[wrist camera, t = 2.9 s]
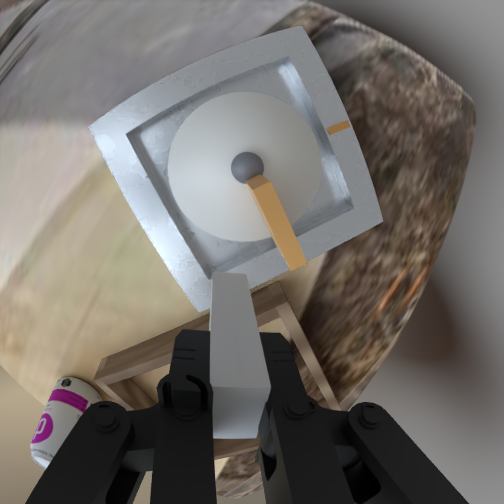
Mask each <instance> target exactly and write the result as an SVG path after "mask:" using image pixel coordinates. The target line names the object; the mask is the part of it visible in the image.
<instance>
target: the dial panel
mask: <svg viewBox="0 0 504 504" xmlns="http://www.w3.org/2000/svg"><path fill="white" fill-rule="evenodd" d="M235 92H256V93H262V94H266V95H269V96H272V97H275V98H277V99H279V100H281V101H283V102H285V103H286V104H288V105H290V106H291V107H292V108H293V109H295V110H296V111H297V112H298V113H299V114H300V115H301V116H302V117H303V118H304V119H305V121H306V122H307V123H308V125H309V126H310V128H311V130H312V131H313V133H314V135H315V137H316V140H317V143H318V146H319V150H320V155H321V176H320V182H319V186H318V189H317V192H316V194H315V197H314V199H313V201H312V203H311V204H310V206H309V207H308V209H307V210H306V211H305V213H304V214H303V215H302V216H301V217H300V218H299V219H298V220H297V221H296V222H295V223H294V224H293V225H291V227H292V229H293V231H294V234H295V236H296V238H297V241H298V243H299V245H300V247H301V250H302V252H303V255H304V257H305V259H306V261H308V260H310V259H312V258H314V257H316V256H318V255H320V254H322V253H324V252H326V251H328V250H330V249H332V248H334V247H336V246H338V245H340V244H342V243H344V242H345V241H347V240H349V239H351V238H353V237H355V236H357V235H359V234H361V233H363V232H364V231H366V230H368V229H370V228H372V227H374V226H376V225H378V224H379V223H381V222H383V218H382V214H381V211H380V207H379V203H378V200H377V197H376V193H375V190H374V187H373V183H372V180H371V177H370V174H369V171H368V168H367V165H366V162H365V159H364V156H363V154H362V151H361V148H360V145H359V143H358V140H357V137H356V135H355V132H354V130H353V127H352V125H351V122H350V120H349V117H348V115H347V113H346V110H345V108H344V106H343V103H342V101H341V99H340V97H339V95H338V92H337V90H336V88H335V86H334V84H333V82H332V80H331V78H330V76H329V74H328V72H327V70H326V68H325V66H324V64H323V62H322V60H321V58H320V56H319V55H318V53H317V51H316V49H315V47H314V46H313V44H312V42H311V40H310V39H309V37H308V35H307V33H306V32H305V30H304V28H303V27H302V25H301V26H296V27H292V28H288V29H284V30H281V31H277V32H274V33H270V34H267V35H264V36H260V37H257V38H254V39H251V40H248V41H245V42H243V43H240V44H237V45H234V46H232V47H229V48H227V49H224V50H221V51H219V52H217V53H214V54H212V55H209V56H207V57H205V58H203V59H200V60H198V61H196V62H194V63H192V64H190V65H188V66H185V67H183V68H181V69H179V70H177V71H175V72H173V73H172V74H170V75H168V76H166V77H164V78H162V79H160V80H159V81H157V82H155V83H153V84H151V85H150V86H148V87H146V88H145V89H143V90H141V91H140V92H138V93H136V94H135V95H133V96H132V97H130V98H128V99H127V100H125V101H124V102H122V103H121V104H119V105H118V106H116V107H115V108H113V109H112V110H110V111H109V112H108V113H106V114H105V115H103V116H102V117H101V118H99V119H98V120H96V121H95V122H94V123H92V124H91V125H90V126H89V129H90V131H91V133H92V135H93V137H94V139H95V141H96V143H97V145H98V147H99V149H100V151H101V153H102V155H103V157H104V159H105V161H106V163H107V165H108V167H109V169H110V171H111V172H112V174H113V176H114V178H115V180H116V182H117V184H118V185H119V187H120V189H121V191H122V193H123V194H124V196H125V198H126V200H127V201H128V203H129V205H130V207H131V208H132V210H133V212H134V214H135V215H136V217H137V219H138V220H139V222H140V224H141V225H142V227H143V229H144V230H145V232H146V234H147V235H148V237H149V239H150V240H151V242H152V243H153V245H154V247H155V248H156V250H157V251H158V253H159V255H160V256H161V258H162V259H163V261H164V262H165V264H166V265H167V267H168V269H169V270H170V272H171V273H172V275H173V276H174V278H175V279H176V281H177V282H178V284H179V285H180V287H181V288H182V289H183V291H184V292H185V294H186V295H187V297H188V298H189V300H190V301H191V302H192V304H193V305H194V307H195V308H196V310H197V311H198V312H199V313H200V312H202V311H205V310H207V309H209V308H210V306H211V291H212V277H213V272H226V273H240V274H247V279H248V284H249V288H250V289H251V288H254V287H256V286H258V285H260V284H262V283H264V282H266V281H268V280H270V279H272V278H274V277H276V276H278V275H280V274H282V273H284V272H286V271H288V270H290V269H289V267H288V265H287V263H286V262H285V260H284V258H283V256H282V255H281V253H280V251H279V250H278V248H277V246H276V244H275V242H274V240H273V238H272V237H269V238H266V239H262V240H257V241H249V242H239V241H230V240H226V239H221V238H219V237H216V236H213V235H211V234H209V233H207V232H205V231H204V230H202V229H201V228H199V227H198V226H196V225H195V224H194V223H193V222H192V221H191V220H189V219H188V217H187V216H186V215H185V214H184V213H183V212H182V210H181V208H180V207H179V205H178V204H177V202H176V200H175V198H174V196H173V193H172V190H171V187H170V183H169V177H168V159H169V152H170V148H171V145H172V142H173V140H174V137H175V135H176V133H177V131H178V129H179V128H180V126H181V125H182V123H183V122H184V121H185V120H186V118H187V117H188V116H189V115H190V114H191V113H192V112H193V111H194V110H196V109H197V108H198V107H200V106H201V105H202V104H204V103H206V102H208V101H209V100H211V99H213V98H216V97H219V96H221V95H225V94H229V93H235Z"/></svg>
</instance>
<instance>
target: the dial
mask: <svg viewBox="0 0 504 504" xmlns="http://www.w3.org/2000/svg"><path fill="white" fill-rule="evenodd" d="M320 176H321V155H320V150H319V146H318V143H317V140H316V137H315V135H314V133H313V131H312V130H311V128H310V126H309V125H308V123H307V122H306V121H305V119H304V118H303V117H302V116H301V115H300V114H299V113H298V112H297V111H296V110H295V109H293V108H292V107H291V106H290V105H288V104H286V103H285V102H283V101H281V100H279V99H277V98H275V97H272V96H269V95H266V94H262V93H256V92H235V93H229V94H225V95H221V96H219V97H216V98H213V99H211V100H209V101H208V102H206V103H204V104H202V105H201V106H200V107H198V108H197V109H196V110H194V111H193V112H192V113H191V114H190V115H189V116H188V117H187V118H186V120H185V121H184V122H183V123H182V125H181V126H180V128H179V129H178V131H177V133H176V135H175V137H174V140H173V142H172V145H171V148H170V152H169V159H168V177H169V183H170V187H171V190H172V193H173V196H174V198H175V200H176V202H177V204H178V205H179V207H180V208H181V210H182V212H183V213H184V214H185V215H186V216H187V217H188V219H189V220H191V221H192V222H193V223H194V224H195V225H196V226H198V227H199V228H201V229H202V230H204V231H205V232H207V233H209V234H211V235H213V236H216V237H219V238H221V239H226V240H230V241H239V242H249V241H257V240H262V239H266V238H269V237H272V238H273V240H274V242H275V244H276V246H277V248H278V250H279V251H280V253H281V255H282V256H283V258H284V260H285V262H286V263H287V265H288V267H289V269H290V270H291V272H292V271H294V270H296V269H298V268H300V267H302V266H304V265H306V264H307V262H306V259H305V257H304V255H303V252H302V250H301V247H300V245H299V243H298V241H297V238H296V236H295V234H294V231H293V229H292V227H291V225H293V224H294V223H295V222H296V221H297V220H298V219H299V218H300V217H301V216H302V215H303V214H304V213H305V211H306V210H307V209H308V207H309V206H310V204H311V203H312V201H313V199H314V197H315V194H316V192H317V189H318V186H319V182H320Z"/></svg>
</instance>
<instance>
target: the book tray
mask: <svg viewBox="0 0 504 504" xmlns="http://www.w3.org/2000/svg"><path fill="white" fill-rule="evenodd" d="M251 298H252V302H253V307H254V312H255V316H256V321H257V326H258V327H259V326H262V325H264V324H266V323H268V322H270V321H272V320H275V319H277V318H279V317H281V318H282V320H283V322H284V324H285V326H286V328H287V330H288V331H289V333H290V335H291V337H292V339H293V341H294V342H295V344H296V346H297V348H298V350H299V352H300V353H301V355H302V357H303V359H304V361H305V363H306V365H307V366H308V368H309V370H310V372H311V374H312V376H313V377H314V379H315V381H316V383H317V385H318V386H319V388H320V390H321V392H322V394H323V396H324V397H325V399H323V400H321V401H319V402H317V403H318V405H319V406H321V407H323V408H327V409H332V410H340V411H342V410H341V408H340V406H339V404H338V401H337V399H336V397H335V395H334V393H333V391H332V389H331V387H330V385H329V383H328V380H327V378H326V376H325V374H324V372H323V370H322V368H321V366H320V364H319V362H318V360H317V358H316V356H315V354H314V352H313V350H312V348H311V346H310V343H309V341H308V339H307V337H306V335H305V333H304V331H303V329H302V327H301V325H300V323H299V321H298V319H297V317H296V315H295V313H294V311H293V309H292V307H291V305H290V303H289V301H288V299H287V297H286V295H285V293H284V291H283V289H282V287H281V285H280V283H279V281H277V282H275V283H273V284H271V285H269V286H267V287H264V288H262V289H260V290H258V291H256V292H254V293H252V294H251ZM209 323H210V313H209V314H207V315H205V316H202V317H200V318H198V319H196V320H193V321H191V322H189V323H187V324H184V325H182V326H180V327H178V328H175V329H173V330H171V331H168V332H166V333H164V334H162V335H159V336H157V337H154V338H152V339H150V340H147V341H145V342H143V343H140V344H138V345H135V346H133V347H131V348H128V349H126V350H123V351H121V352H118V353H116V354H114V355H111V356H109V357H106V358H104V359H102V360H101V363H100V365H99V368H98V370H97V373H96V375H95V378H94V380H93V381H94V382H95V383H96V384H97V385H98V386H99V387H100V388H101V389H103V390H104V391H105V392H106V393H107V394H108V395H109V396H110V397H112V398H113V399H114V400H115V401H116V402H117V403H119V404H120V405H121V406H122V407H124V408H125V409H126V410H127V411H130V410H139V409H145V408H150V407H152V406H154V405H156V404H157V403H156V402H155V401H153V400H152V399H151V398H150V397H149V396H148V395H147V394H146V393H144V392H143V391H142V390H141V389H140V388H139V387H138V386H137V385H136V384H135V383H134V382H133V381H132V380H130V379H129V378H130V377H133V376H136V375H139V374H142V373H145V372H148V371H151V370H153V369H156V368H159V367H162V366H164V365H167V364H170V363H171V359H172V353H173V348H174V342H175V337H176V336H177V335H178V334H179V333H180V332H181V330H182V329H190V330H203V331H209ZM213 444H214V460H217V459H221V458H226V457H230V456H234V455H238V454H242V453H246V452H250V451H253V450H257V449H258V448H259V445H260V439H259V433H258V434H257V437H256V438H246V439H222V438H213Z"/></svg>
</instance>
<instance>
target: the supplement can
mask: <svg viewBox="0 0 504 504" xmlns="http://www.w3.org/2000/svg"><path fill="white" fill-rule="evenodd" d="M99 401H103V400H102V398H101V397H100V395H99V393H98V392H97V391H96V390H95V389H94V388H93V387H92V386H90V385H89V384H88V383H86V382H84V381H82V380H80V379H77V378H74V377H66V378H64V377H63V378H61V379H59V380H58V381H57V383H56V386H55V388H54V390H53V392H52V394H51V396H50V399H49V401H48V403H47V405H46V408H45V410H44V412H43V415H42V417H41V419H40V422H39V424H38V427H37V429H36V432H35V435H34V437H33V440H32V442H31V446H30V447H31V453H32V459H33V460H34V461H35V462H36V463H37V464H38V465H40V466H41V467H43V468H44V469H45V470H46V468H47V467H48V465H49V463H50V462H51V460H52V459H53V457H54V456H55V454H56V453H57V451H58V449H59V448H60V446H61V445H62V443H63V442H64V440H65V439H66V437H67V436H68V434H69V433H70V431H71V430H72V428H73V427H74V425H75V424H76V423H77V421H78V420H79V418H80V417H81V415H82V414H83V412H84V411H85V410H86V409H87V408H88V407H89V406H90V405H92V404H94V403H96V402H99Z"/></svg>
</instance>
